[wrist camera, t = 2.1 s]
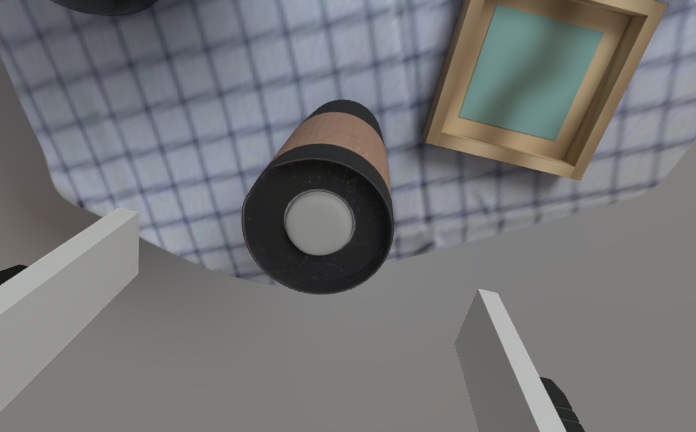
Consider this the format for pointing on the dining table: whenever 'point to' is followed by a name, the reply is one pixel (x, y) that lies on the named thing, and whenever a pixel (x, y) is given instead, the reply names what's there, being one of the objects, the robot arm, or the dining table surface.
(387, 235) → the travel mug
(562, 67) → the tray
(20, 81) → the dining table surface
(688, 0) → the dining table surface
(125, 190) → the dining table surface
